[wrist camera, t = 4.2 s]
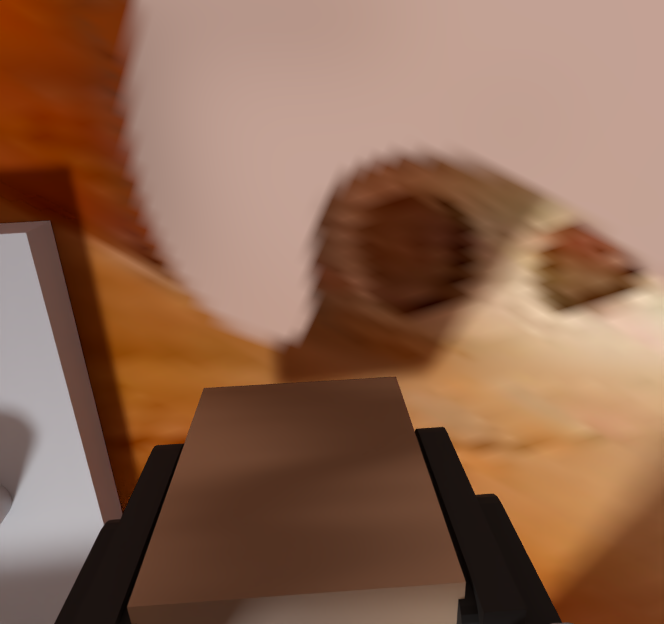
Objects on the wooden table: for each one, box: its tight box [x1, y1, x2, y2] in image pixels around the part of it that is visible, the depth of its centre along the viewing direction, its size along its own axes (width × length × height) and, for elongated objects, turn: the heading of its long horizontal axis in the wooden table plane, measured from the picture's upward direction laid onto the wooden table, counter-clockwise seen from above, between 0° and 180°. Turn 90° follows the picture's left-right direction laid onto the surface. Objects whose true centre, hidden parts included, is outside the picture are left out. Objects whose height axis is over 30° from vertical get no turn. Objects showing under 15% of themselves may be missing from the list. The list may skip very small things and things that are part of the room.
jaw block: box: [127, 377, 466, 624], centre depth 9 cm, size 4×4×5 cm
